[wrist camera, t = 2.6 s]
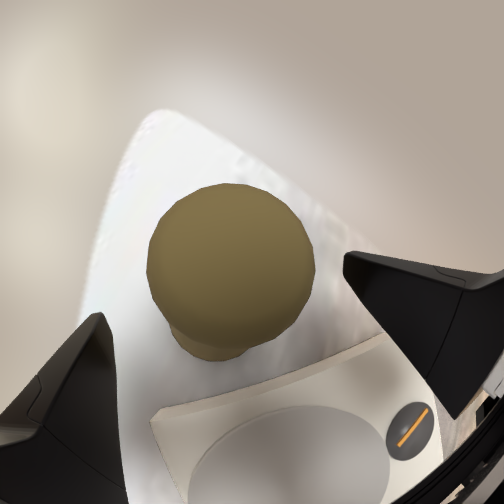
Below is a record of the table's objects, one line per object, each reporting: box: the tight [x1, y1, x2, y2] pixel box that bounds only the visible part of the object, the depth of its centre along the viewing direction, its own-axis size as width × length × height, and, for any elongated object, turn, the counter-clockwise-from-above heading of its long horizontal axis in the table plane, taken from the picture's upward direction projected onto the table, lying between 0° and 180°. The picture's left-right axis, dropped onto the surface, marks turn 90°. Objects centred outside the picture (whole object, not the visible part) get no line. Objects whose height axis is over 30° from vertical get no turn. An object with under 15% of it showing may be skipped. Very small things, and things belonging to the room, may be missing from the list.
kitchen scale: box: [149, 332, 443, 504], centre depth 12 cm, size 13×16×5 cm
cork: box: [146, 183, 315, 361], centre depth 12 cm, size 6×6×11 cm
